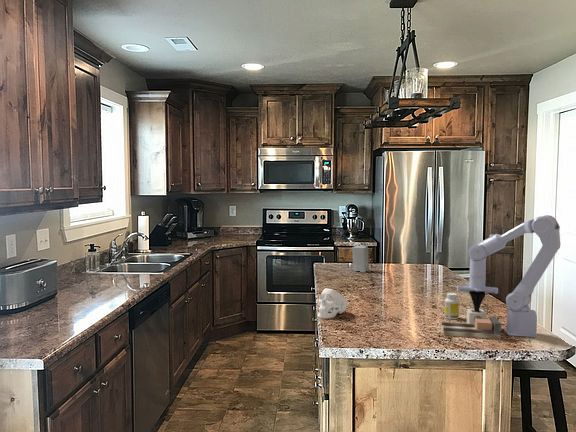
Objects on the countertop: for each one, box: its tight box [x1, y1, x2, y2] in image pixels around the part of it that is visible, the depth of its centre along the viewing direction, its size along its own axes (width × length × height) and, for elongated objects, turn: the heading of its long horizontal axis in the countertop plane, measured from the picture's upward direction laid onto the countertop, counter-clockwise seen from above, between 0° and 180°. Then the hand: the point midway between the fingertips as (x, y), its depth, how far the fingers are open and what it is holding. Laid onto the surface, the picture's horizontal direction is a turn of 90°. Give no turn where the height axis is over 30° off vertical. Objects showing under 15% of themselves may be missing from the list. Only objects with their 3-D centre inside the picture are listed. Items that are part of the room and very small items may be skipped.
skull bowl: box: [317, 287, 349, 320], centre depth 195 cm, size 10×14×12 cm
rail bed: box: [440, 316, 502, 340], centre depth 171 cm, size 19×9×6 cm, turn 78°
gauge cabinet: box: [466, 308, 487, 324], centre depth 180 cm, size 6×6×6 cm
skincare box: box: [351, 245, 370, 273], centre depth 294 cm, size 8×7×16 cm
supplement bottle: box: [444, 292, 460, 320], centre depth 191 cm, size 5×5×10 cm
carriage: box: [475, 318, 492, 330], centre depth 170 cm, size 5×5×3 cm
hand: (476, 310), depth 180 cm, fingers closed, pressing on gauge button
